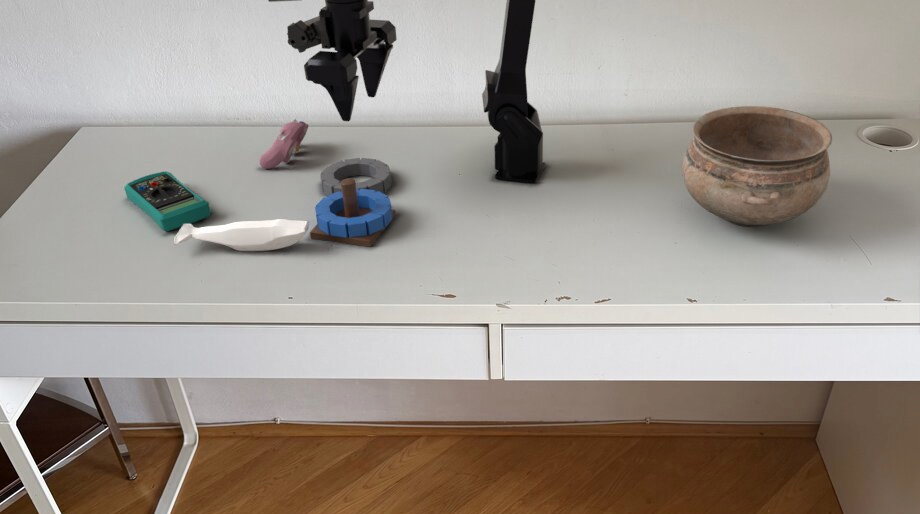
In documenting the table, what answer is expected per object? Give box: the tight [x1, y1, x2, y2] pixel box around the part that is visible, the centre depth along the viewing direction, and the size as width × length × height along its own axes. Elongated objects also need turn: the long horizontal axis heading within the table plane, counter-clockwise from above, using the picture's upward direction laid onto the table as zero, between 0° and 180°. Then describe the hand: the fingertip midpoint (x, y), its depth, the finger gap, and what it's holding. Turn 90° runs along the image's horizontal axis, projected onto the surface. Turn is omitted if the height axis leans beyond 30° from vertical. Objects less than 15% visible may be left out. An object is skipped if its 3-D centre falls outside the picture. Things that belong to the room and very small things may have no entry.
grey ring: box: [320, 157, 393, 196], centre depth 133 cm, size 10×10×2 cm
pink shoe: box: [258, 118, 309, 170], centre depth 140 cm, size 10×5×7 cm, turn 168°
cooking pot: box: [681, 105, 833, 228], centre depth 118 cm, size 25×19×12 cm
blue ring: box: [314, 189, 394, 238], centre depth 122 cm, size 10×10×2 cm
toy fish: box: [173, 218, 310, 252], centre depth 118 cm, size 6×18×4 cm, turn 85°
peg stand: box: [309, 177, 397, 248], centre depth 121 cm, size 9×9×7 cm
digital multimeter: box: [123, 171, 212, 232], centre depth 129 cm, size 7×15×3 cm, turn 39°
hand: (359, 108), depth 128 cm, fingers open, 9 cm apart
